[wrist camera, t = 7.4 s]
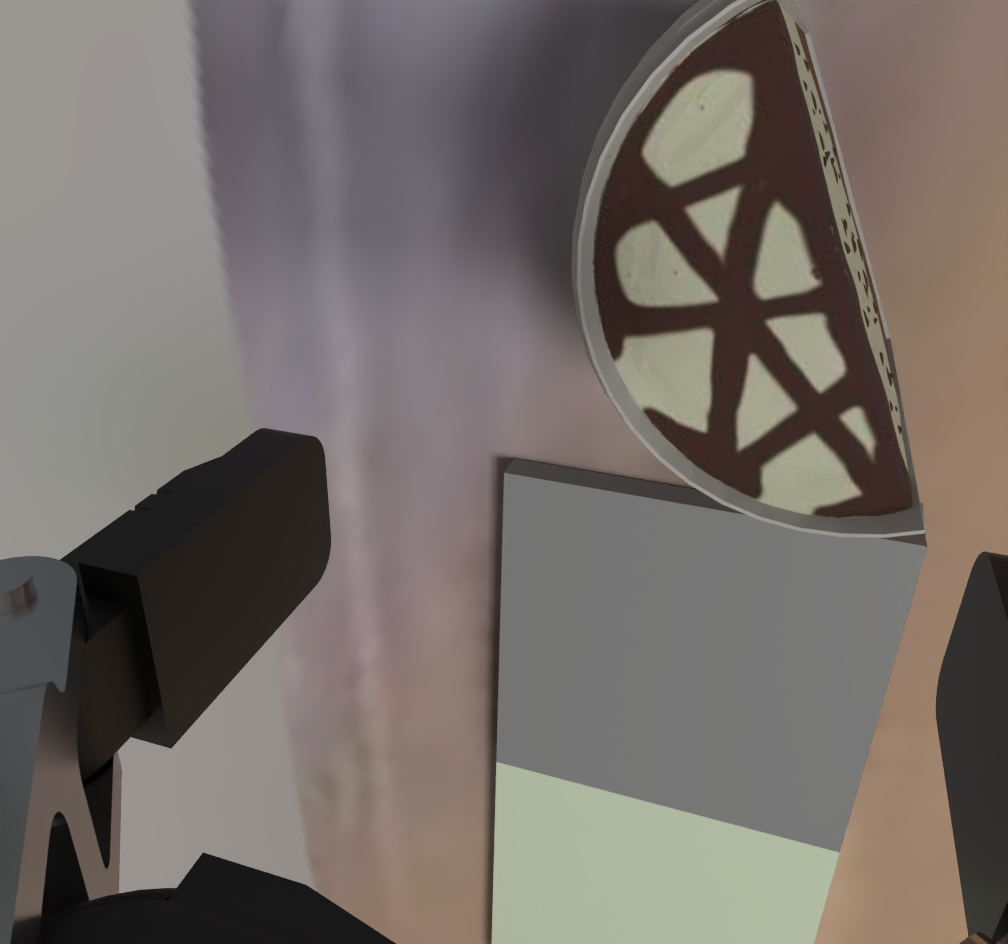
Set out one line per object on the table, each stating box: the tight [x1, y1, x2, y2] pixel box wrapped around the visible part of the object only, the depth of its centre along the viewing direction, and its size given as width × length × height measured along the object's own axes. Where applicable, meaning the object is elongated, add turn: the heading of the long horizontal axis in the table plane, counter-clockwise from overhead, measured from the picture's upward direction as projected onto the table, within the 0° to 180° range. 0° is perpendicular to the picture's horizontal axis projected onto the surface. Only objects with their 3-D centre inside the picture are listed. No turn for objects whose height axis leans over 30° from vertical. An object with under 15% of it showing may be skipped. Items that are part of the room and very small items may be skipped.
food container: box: [571, 0, 926, 538], centre depth 23 cm, size 12×6×10 cm, turn 23°
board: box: [492, 458, 927, 944], centre depth 37 cm, size 14×28×1 cm, turn 179°
